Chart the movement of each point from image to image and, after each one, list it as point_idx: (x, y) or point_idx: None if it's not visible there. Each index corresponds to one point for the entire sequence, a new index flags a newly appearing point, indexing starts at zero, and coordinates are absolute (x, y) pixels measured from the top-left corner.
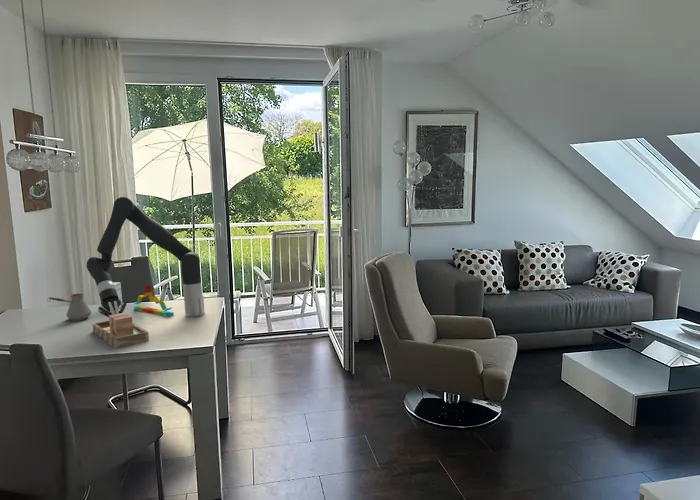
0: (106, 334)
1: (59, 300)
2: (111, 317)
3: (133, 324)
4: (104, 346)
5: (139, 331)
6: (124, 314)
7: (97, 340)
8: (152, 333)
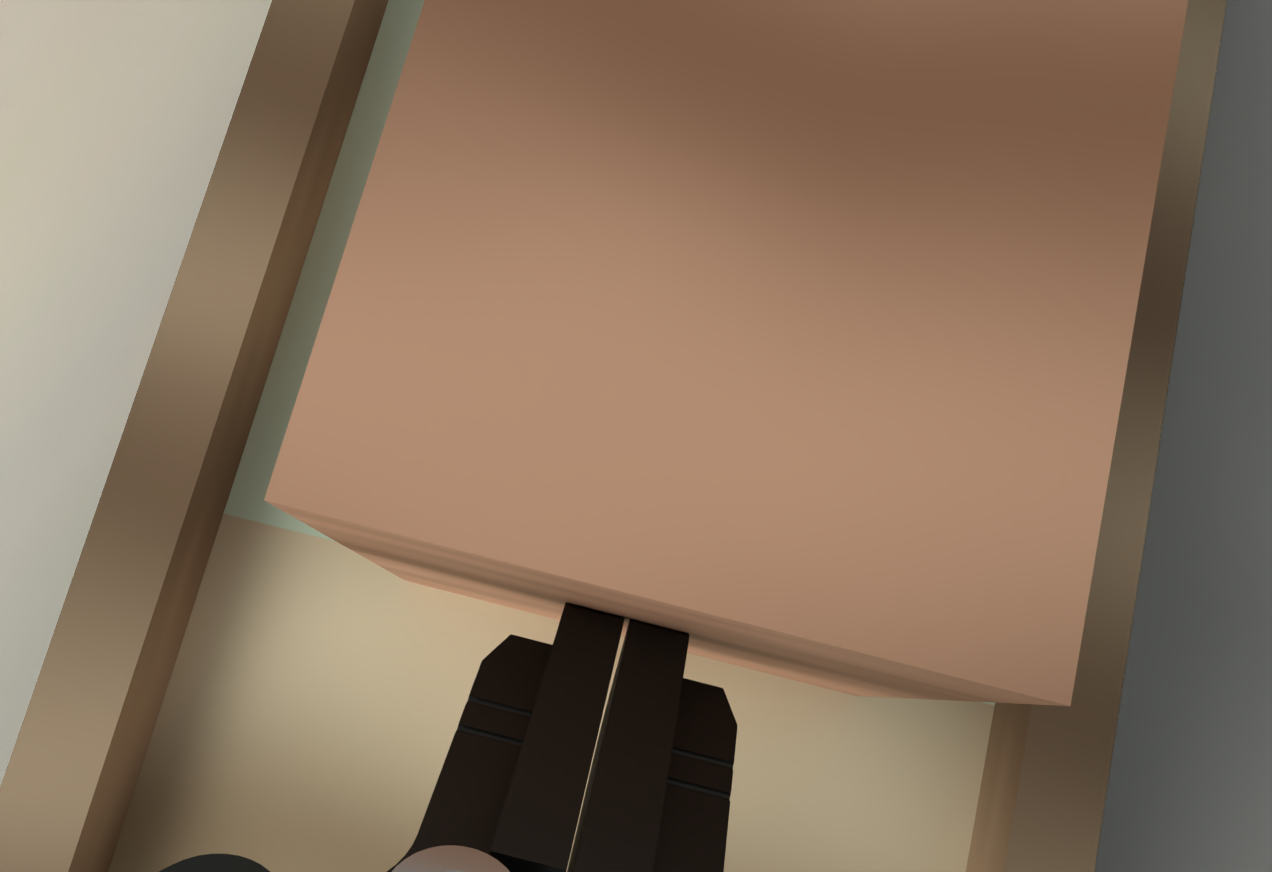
0: (1169, 338)
1: None
2: (1147, 243)
3: (148, 519)
4: (1229, 206)
5: (384, 2)
6: (508, 166)
7: (1132, 805)
8: (58, 80)
